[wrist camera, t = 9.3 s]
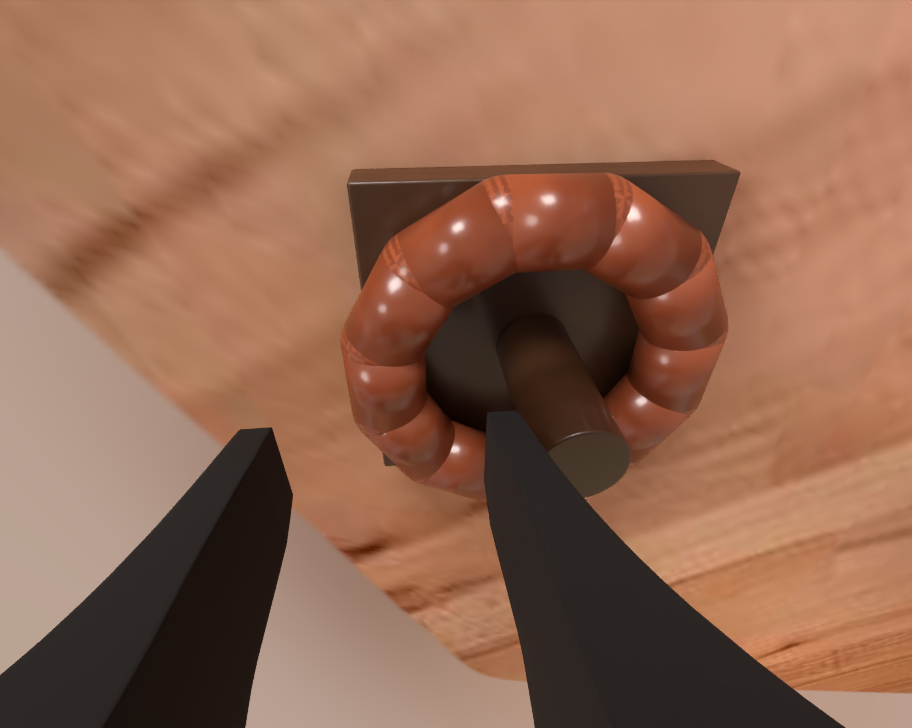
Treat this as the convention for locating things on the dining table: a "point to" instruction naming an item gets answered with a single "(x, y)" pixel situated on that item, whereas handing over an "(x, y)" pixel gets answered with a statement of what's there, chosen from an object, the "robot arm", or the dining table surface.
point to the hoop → (531, 250)
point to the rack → (536, 312)
